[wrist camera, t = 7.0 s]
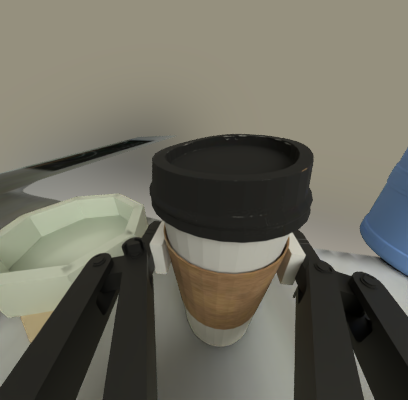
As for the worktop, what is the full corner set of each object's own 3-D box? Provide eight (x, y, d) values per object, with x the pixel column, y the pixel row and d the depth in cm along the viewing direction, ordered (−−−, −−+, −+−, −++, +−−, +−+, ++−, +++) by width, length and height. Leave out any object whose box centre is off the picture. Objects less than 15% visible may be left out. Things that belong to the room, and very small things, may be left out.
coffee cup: (279, 306, 15) (347, 142, 8) (226, 408, 10) (284, 203, 3) (213, 257, 21) (218, 130, 13) (154, 309, 15) (109, 143, 8)
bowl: (-7, 264, 20) (-36, 233, 18) (113, 210, 31) (105, 186, 29) (25, 360, 12) (-19, 328, 10) (169, 243, 23) (165, 215, 21)
